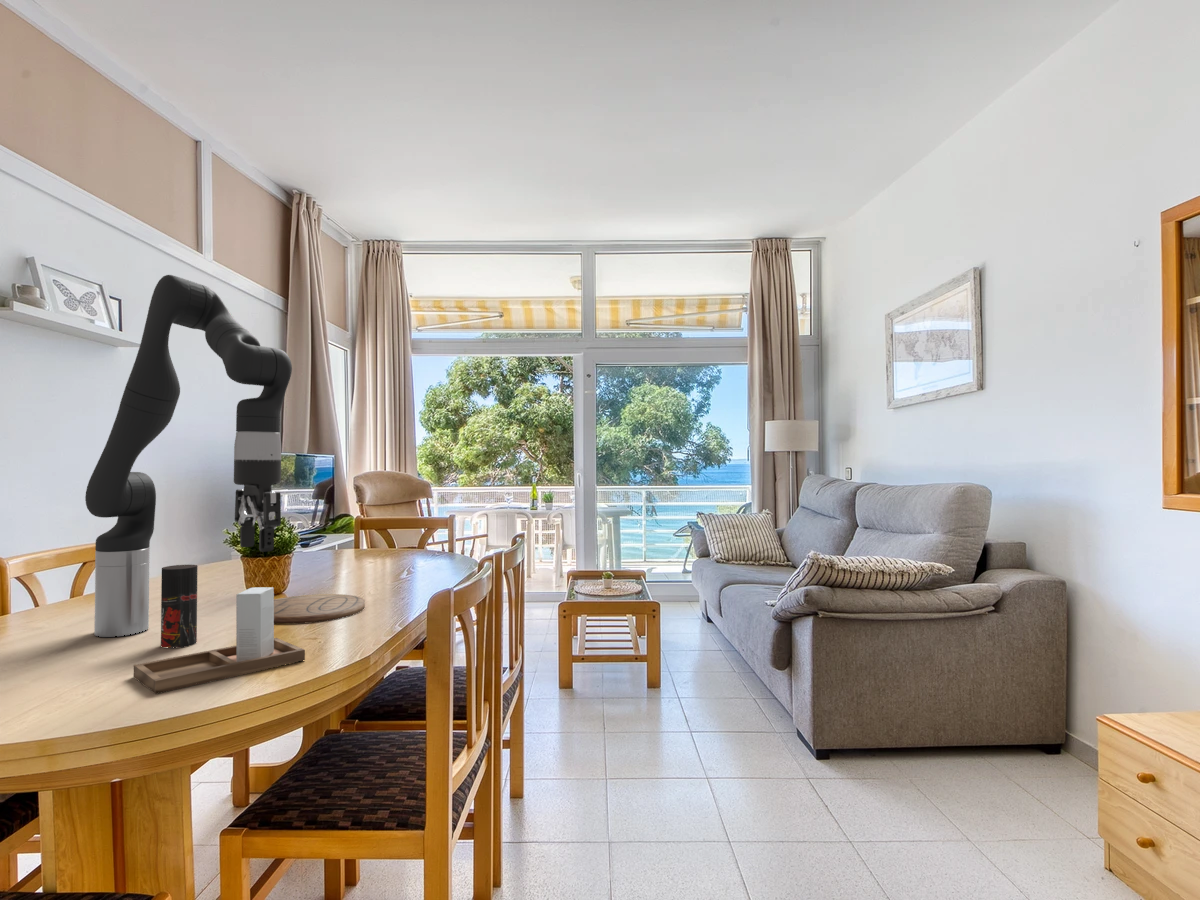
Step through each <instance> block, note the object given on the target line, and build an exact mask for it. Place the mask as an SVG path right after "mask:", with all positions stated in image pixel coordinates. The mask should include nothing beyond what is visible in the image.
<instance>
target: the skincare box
mask: <svg viewBox="0 0 1200 900" xmlns="http://www.w3.org/2000/svg"><path fill="white" fill-rule="evenodd" d="M274 591H275V590H274V587H273V586H272V587H267V586H265V587H261V586H260V587H258V586H257V587H255V586H254V587H249V588H247V589H245V590H243V591H241V592H239V593H237V594H236V603H235V604H236V605H235V606H236V615H235V616H236V619H235V621H236V627H235V628H236V629H235V630H236V633H235V634H236V636H235V637H236V644H235V646H236V656H237V662H240V661H245V660H250V659H255V658H260V657H265V656H269V655H270V654H272V653H273V652H274V638H275V628H274V625H275V623H274V599H275V593H274Z"/></svg>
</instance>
